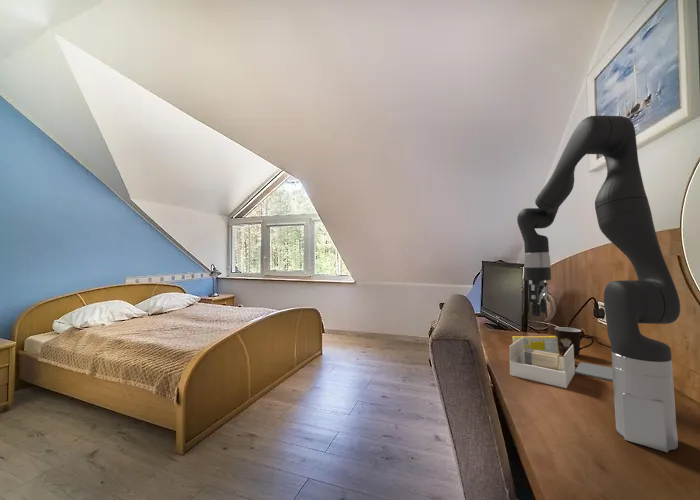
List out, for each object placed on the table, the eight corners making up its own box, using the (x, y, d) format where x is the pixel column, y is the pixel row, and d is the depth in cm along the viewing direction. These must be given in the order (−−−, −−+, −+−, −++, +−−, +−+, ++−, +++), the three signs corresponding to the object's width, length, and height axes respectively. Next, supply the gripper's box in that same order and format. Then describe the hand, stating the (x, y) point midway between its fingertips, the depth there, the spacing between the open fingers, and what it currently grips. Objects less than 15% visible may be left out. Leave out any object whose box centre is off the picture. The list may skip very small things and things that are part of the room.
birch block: (557, 379, 92) (556, 357, 92) (525, 372, 98) (524, 351, 99) (560, 375, 95) (559, 354, 96) (529, 369, 102) (528, 348, 102)
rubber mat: (628, 384, 87) (628, 382, 88) (574, 373, 97) (574, 371, 97) (629, 372, 97) (629, 370, 97) (580, 363, 106) (580, 362, 106)
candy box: (556, 357, 114) (555, 335, 114) (559, 358, 112) (558, 337, 112) (513, 356, 116) (512, 335, 116) (515, 358, 113) (514, 337, 114)
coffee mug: (550, 352, 119) (549, 328, 120) (565, 350, 122) (564, 326, 122) (580, 361, 108) (579, 334, 109) (596, 358, 111) (595, 332, 111)
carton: (566, 388, 86) (564, 355, 86) (510, 375, 97) (508, 346, 97) (575, 373, 97) (573, 344, 98) (524, 362, 108) (522, 337, 108)
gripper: (545, 266, 91) (547, 318, 90) (555, 265, 101) (557, 312, 100) (518, 266, 96) (521, 315, 95) (530, 265, 106) (532, 310, 105)
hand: (539, 314), depth 98 cm, fingers open, 8 cm apart
